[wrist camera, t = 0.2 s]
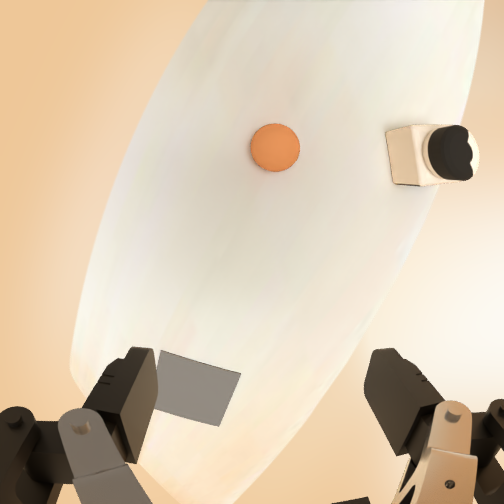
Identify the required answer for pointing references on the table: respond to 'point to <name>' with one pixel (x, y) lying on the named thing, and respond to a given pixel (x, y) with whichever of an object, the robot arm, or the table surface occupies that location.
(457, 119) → the table surface
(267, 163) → the ball
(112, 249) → the table surface
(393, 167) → the medicine bottle
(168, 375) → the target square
